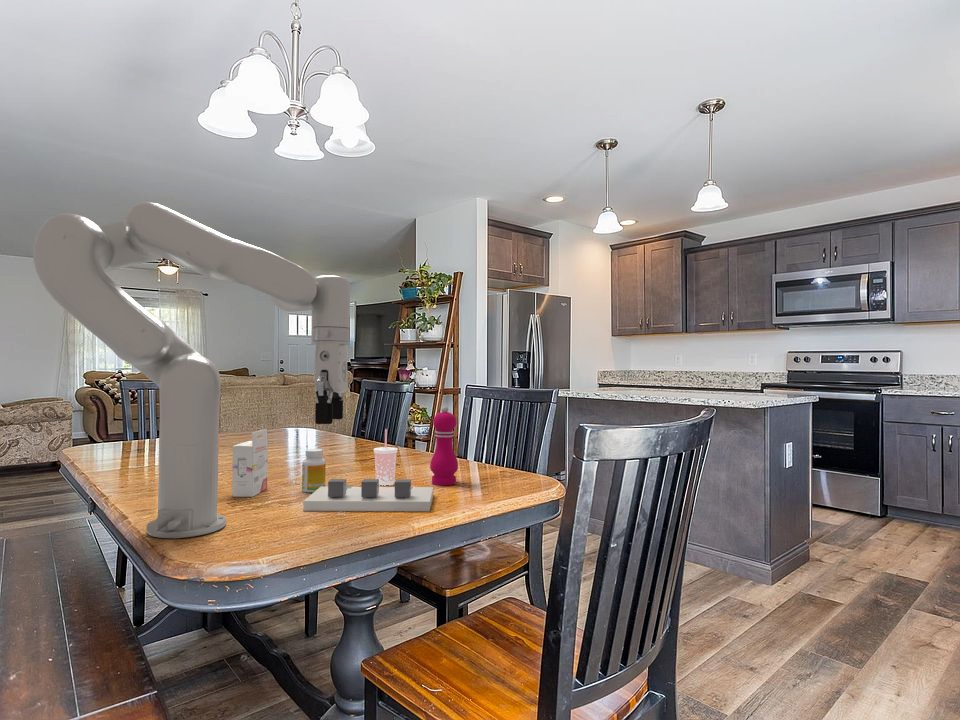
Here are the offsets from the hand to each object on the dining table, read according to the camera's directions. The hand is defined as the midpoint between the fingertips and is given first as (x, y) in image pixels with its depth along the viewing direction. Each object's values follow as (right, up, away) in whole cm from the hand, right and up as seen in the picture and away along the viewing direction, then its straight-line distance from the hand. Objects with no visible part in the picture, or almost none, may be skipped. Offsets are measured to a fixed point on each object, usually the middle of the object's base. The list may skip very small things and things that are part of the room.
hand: (329, 421), depth 111 cm
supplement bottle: (-9, -19, +20) cm, 30 cm away
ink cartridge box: (-23, -19, +17) cm, 34 cm away
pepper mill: (+21, -20, +30) cm, 42 cm away
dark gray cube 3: (+14, -17, +6) cm, 23 cm away
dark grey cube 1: (0, -16, +6) cm, 17 cm away
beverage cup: (+6, -19, +29) cm, 35 cm away
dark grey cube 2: (+7, -17, +6) cm, 19 cm away
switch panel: (+7, -19, +9) cm, 22 cm away
